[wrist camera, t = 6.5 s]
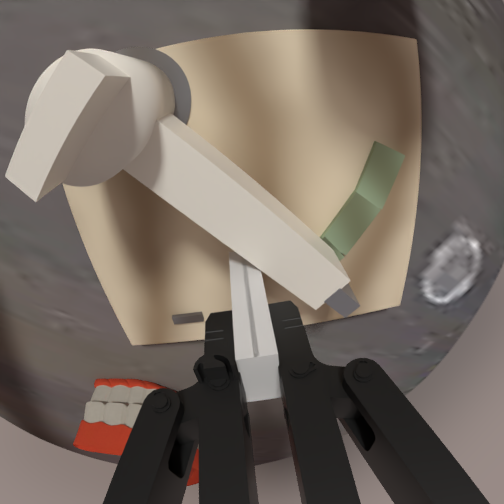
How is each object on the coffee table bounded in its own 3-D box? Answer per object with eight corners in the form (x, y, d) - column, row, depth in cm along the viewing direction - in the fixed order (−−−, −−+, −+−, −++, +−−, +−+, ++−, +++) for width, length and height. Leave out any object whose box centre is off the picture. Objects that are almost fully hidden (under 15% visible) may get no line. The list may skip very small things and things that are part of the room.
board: (136, 330, 22) (131, 348, 20) (53, 82, 12) (36, 84, 10) (391, 292, 22) (401, 307, 20) (400, 33, 12) (418, 30, 10)
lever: (69, 120, 12) (-27, 158, 6) (122, 42, 10) (38, 17, 4) (304, 294, 18) (335, 391, 12) (360, 244, 17) (419, 331, 11)
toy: (224, 425, 31) (226, 486, 24) (145, 430, 31) (140, 486, 24) (182, 364, 24) (175, 447, 17) (88, 374, 25) (69, 442, 18)
